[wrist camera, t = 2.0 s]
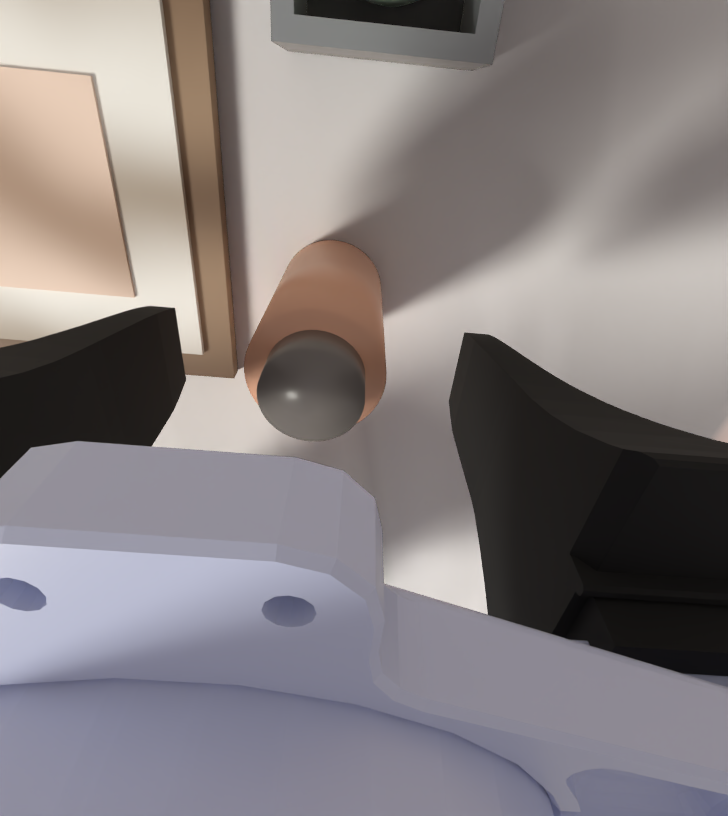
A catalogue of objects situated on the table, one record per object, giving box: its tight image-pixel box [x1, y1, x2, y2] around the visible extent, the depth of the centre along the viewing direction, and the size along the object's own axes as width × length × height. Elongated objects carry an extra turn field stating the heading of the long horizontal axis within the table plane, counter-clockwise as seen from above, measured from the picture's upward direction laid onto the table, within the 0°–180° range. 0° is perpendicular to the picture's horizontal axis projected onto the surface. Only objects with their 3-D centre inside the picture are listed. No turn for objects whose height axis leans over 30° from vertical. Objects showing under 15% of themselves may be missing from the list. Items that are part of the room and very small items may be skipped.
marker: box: [244, 240, 386, 441], centre depth 13 cm, size 3×3×7 cm
